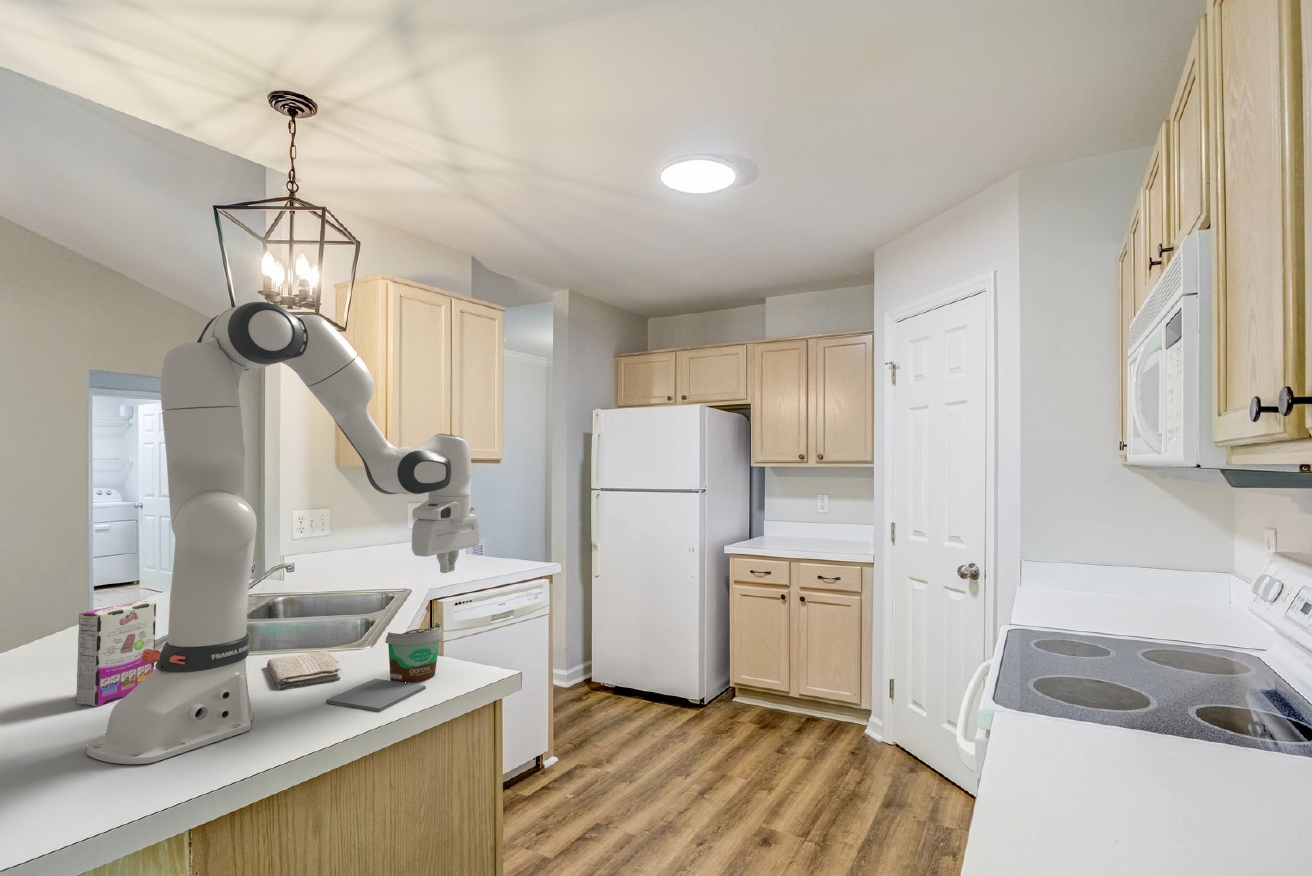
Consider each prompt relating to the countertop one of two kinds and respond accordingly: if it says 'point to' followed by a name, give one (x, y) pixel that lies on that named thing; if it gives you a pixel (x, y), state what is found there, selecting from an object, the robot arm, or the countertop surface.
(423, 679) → the food container
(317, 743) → the countertop surface
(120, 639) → the candy bar box
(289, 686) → the washcloth
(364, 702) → the mat
